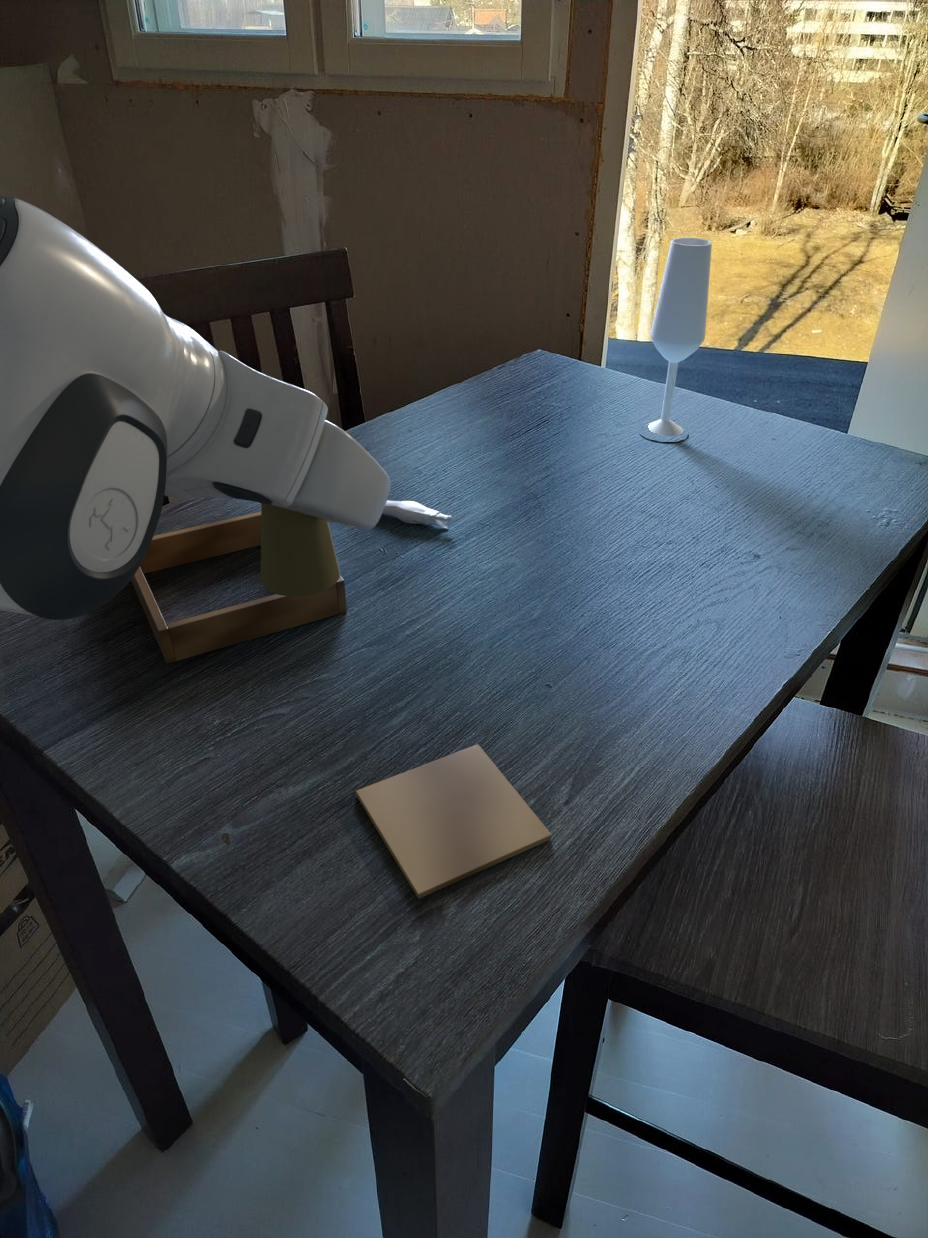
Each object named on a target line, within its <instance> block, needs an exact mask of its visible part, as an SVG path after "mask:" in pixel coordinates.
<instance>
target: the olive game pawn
mask: <svg viewBox="0 0 928 1238" xmlns="http://www.w3.org/2000/svg"><path fill="white" fill-rule="evenodd" d="M260 504H261V505H260V506H261V507H260V512H261V545H260V582H261V584H262V586H263V587H264V588H265V589H266V590H267V591H269V592H270V593H273V594H278V595H283V596H290V597H297V596H308V595H313V594H317V593H320V592H322V591H324V590H327V589H329V588H330V587H331V586H333V585H334V584H335V583H336V582H337V581H338V579H339V578H340V576H341V568H340V563H339V560H338V556H337V552H336V551H337V550H336V547H335V542H334V539H333V535H332V531H331V525H330V522H328V521H325V520H321V519H318V518H315V517H314V516H310V515H307V514H303V513H299V512H296V511H292V510H288V509H285V508H281V507H277V506H274V505H268V504H264V503H260Z"/></svg>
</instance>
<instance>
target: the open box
mask: <svg viewBox="0 0 928 1238" xmlns="http://www.w3.org/2000/svg"><path fill="white" fill-rule="evenodd" d="M259 546H260V547H261V511H257V512H252V513H247V514H244V515H240V516H235V517H231V518H226V519H222V520H218V521H213V522H209V523H205V524H200V525H196V526H192V527H187V528H182V529H178V530H174V531H169V532H166V533H161V534H156V535H154V536H153V538H152V541H151V544H150V546H149V549H148V551H147V553H146V556H145V558H144V560H143V562H142V563H141V565H140V567H139V569H138V570H137V572H136V573H135V575H134V576H133V578H132V579H131V580H130V582H131V584H132V587H133V588H134V591H135V594H136V596H137V598H138V600H139V603H140V605H141V607H142V610H143V613H144V614H145V616H146V619H147V621H148V624H149V626H150V628H151V631H152V633H153V636H154V637H155V638H154V639H155V640H156V643H157V644H158V647H159V649H160V651H161V654H162V656H163V659H164V661H165V663H166V664H167V665H168V664H172V663H175V662H178V661H182V660H185V659H189V658H193V657H197V656H199V655H203V654H207V653H210V652H213V651H217V650H220V649H224V648H227V647H230V646H234V645H237V644H241V643H244V642H247V641H251V640H255V639H257V638H261V637H265V636H268V635H271V634H272V635H273V634H275V633H279V632H282V631H286V630H289V629H293V628H296V627H299V626H302V625H306V624H309V623H313V622H317V621H321V620H323V619H327V618H331V617H334V616H338V615H340V614H345V613H347V612H348V607H347V597H346V595H347V594H346V584H345V583H346V582H345V580H344V578H343V577H342V576H341V575H340V578H339V579H338V581H337V582H336V583H335V584H334V585H333V586H331V587H330V588H329V589H327V590H324V591H322V592H320V593H317V594H313V595H308V596H297V597H290V596H283V595H278V594H276V593H274V594H272V595H269V596H263V597H261V598H256V599H253V600H249V601H247V602H242V603H239V604H235V605H232V606H227V607H224V608H220V609H215V610H212V611H209V612H206V613H202V614H197V615H194V616H191V617H187V618H184V619H179V620H176V621H173V622H169V623H168V622H167V623H166V621H165V617H164V616H163V614H162V611H161V609H160V607H159V605H158V603H157V601H156V598H155V596H154V594H153V592H152V590H151V587H150V585H149V583H148V580H147V579H146V577H145V574H146V575H147V574H151V573H153V572H158V571H162V570H165V569H170V568H175V567H177V566H182V565H185V564H191V563H195V562H199V561H202V560H206V559H210V558H215V557H218V556H222V555H227V554H231V553H235V552H239V551H244V550H246V549H252V548H255V547H259Z"/></svg>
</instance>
